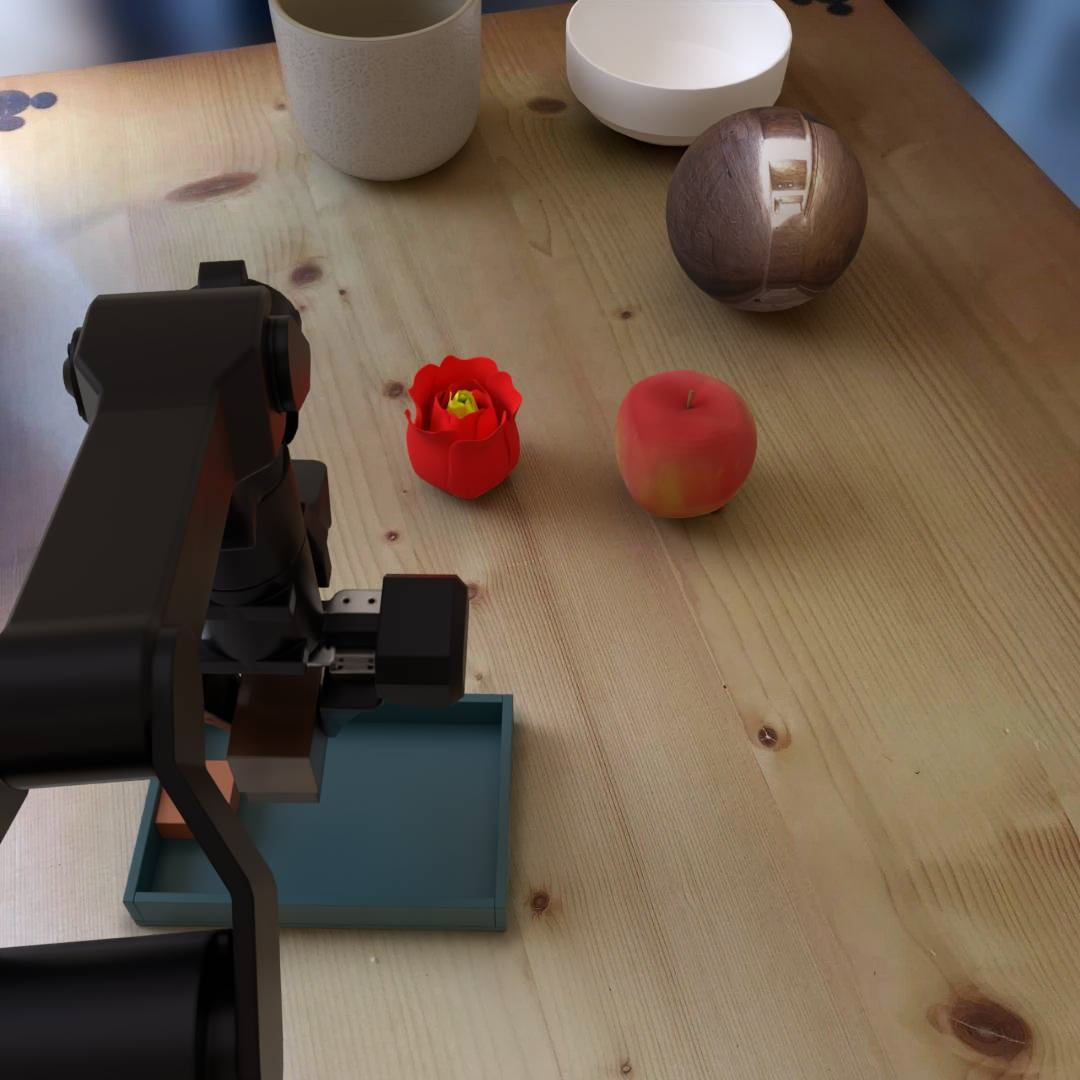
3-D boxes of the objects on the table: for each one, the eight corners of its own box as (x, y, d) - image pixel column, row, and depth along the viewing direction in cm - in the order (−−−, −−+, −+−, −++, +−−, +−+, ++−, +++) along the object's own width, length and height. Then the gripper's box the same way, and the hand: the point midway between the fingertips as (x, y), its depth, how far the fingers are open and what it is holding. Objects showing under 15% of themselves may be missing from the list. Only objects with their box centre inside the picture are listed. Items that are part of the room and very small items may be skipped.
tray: (135, 925, 71) (121, 902, 68) (181, 716, 79) (170, 688, 77) (507, 931, 71) (506, 908, 68) (513, 721, 79) (513, 693, 77)
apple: (729, 565, 87) (749, 464, 79) (591, 532, 88) (597, 430, 81) (757, 462, 92) (778, 359, 85) (627, 433, 94) (635, 329, 86)
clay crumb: (161, 839, 73) (153, 823, 72) (175, 776, 76) (168, 758, 74) (232, 840, 73) (226, 824, 72) (244, 777, 76) (237, 760, 74)
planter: (341, 229, 109) (318, 62, 97) (265, 126, 118) (235, -38, 106) (520, 169, 114) (518, 5, 102) (433, 75, 123) (423, -86, 111)
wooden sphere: (703, 370, 98) (726, 206, 87) (631, 250, 107) (642, 86, 95) (881, 328, 101) (926, 163, 90) (796, 214, 110) (827, 51, 99)
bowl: (577, 46, 127) (580, -38, 120) (781, 63, 125) (794, -22, 118) (550, 166, 114) (551, 79, 108) (775, 186, 113) (790, 99, 106)
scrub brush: (243, 807, 65) (225, 757, 61) (266, 672, 70) (250, 618, 66) (323, 807, 65) (309, 758, 61) (340, 673, 70) (328, 619, 66)
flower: (541, 488, 91) (542, 406, 85) (445, 534, 88) (438, 454, 82) (482, 419, 95) (479, 337, 89) (389, 462, 92) (379, 380, 86)
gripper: (467, 403, 60) (479, 604, 72) (62, 399, 60) (141, 600, 72) (455, 598, 53) (470, 784, 65) (-5, 594, 53) (96, 780, 65)
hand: (291, 728), depth 67 cm, fingers closed on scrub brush, 4 cm apart
